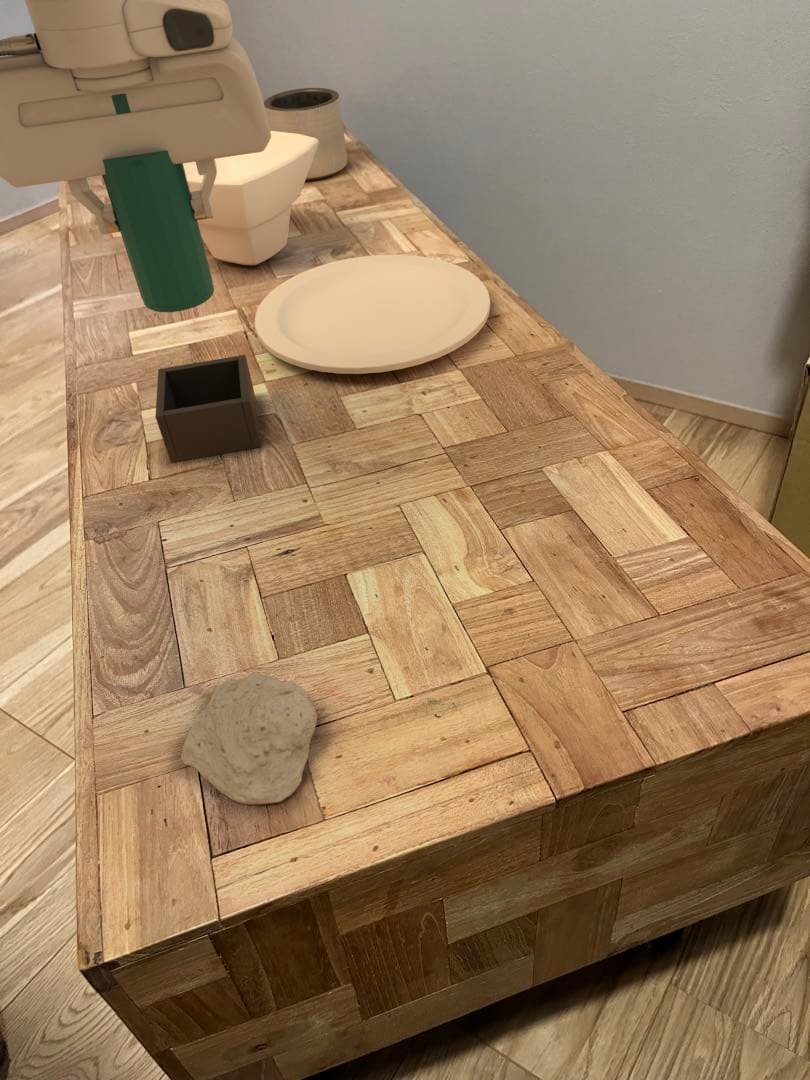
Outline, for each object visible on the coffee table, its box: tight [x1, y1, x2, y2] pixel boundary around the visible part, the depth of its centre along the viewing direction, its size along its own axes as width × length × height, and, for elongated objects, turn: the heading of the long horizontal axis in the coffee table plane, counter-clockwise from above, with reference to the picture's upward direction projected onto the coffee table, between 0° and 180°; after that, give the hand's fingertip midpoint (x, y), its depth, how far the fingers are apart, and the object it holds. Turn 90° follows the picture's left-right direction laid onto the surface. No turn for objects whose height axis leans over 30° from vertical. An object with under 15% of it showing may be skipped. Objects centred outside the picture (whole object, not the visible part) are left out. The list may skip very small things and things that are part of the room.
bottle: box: [101, 94, 215, 313], centre depth 65 cm, size 6×6×16 cm
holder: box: [154, 354, 262, 464], centre depth 83 cm, size 9×9×6 cm
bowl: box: [183, 131, 319, 266], centre depth 112 cm, size 19×19×14 cm
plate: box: [254, 254, 491, 375], centre depth 99 cm, size 28×28×2 cm
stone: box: [180, 672, 318, 805], centre depth 56 cm, size 10×5×10 cm
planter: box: [263, 87, 348, 182], centre depth 137 cm, size 12×12×11 cm
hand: (159, 223), depth 66 cm, fingers closed on bottle, 6 cm apart
